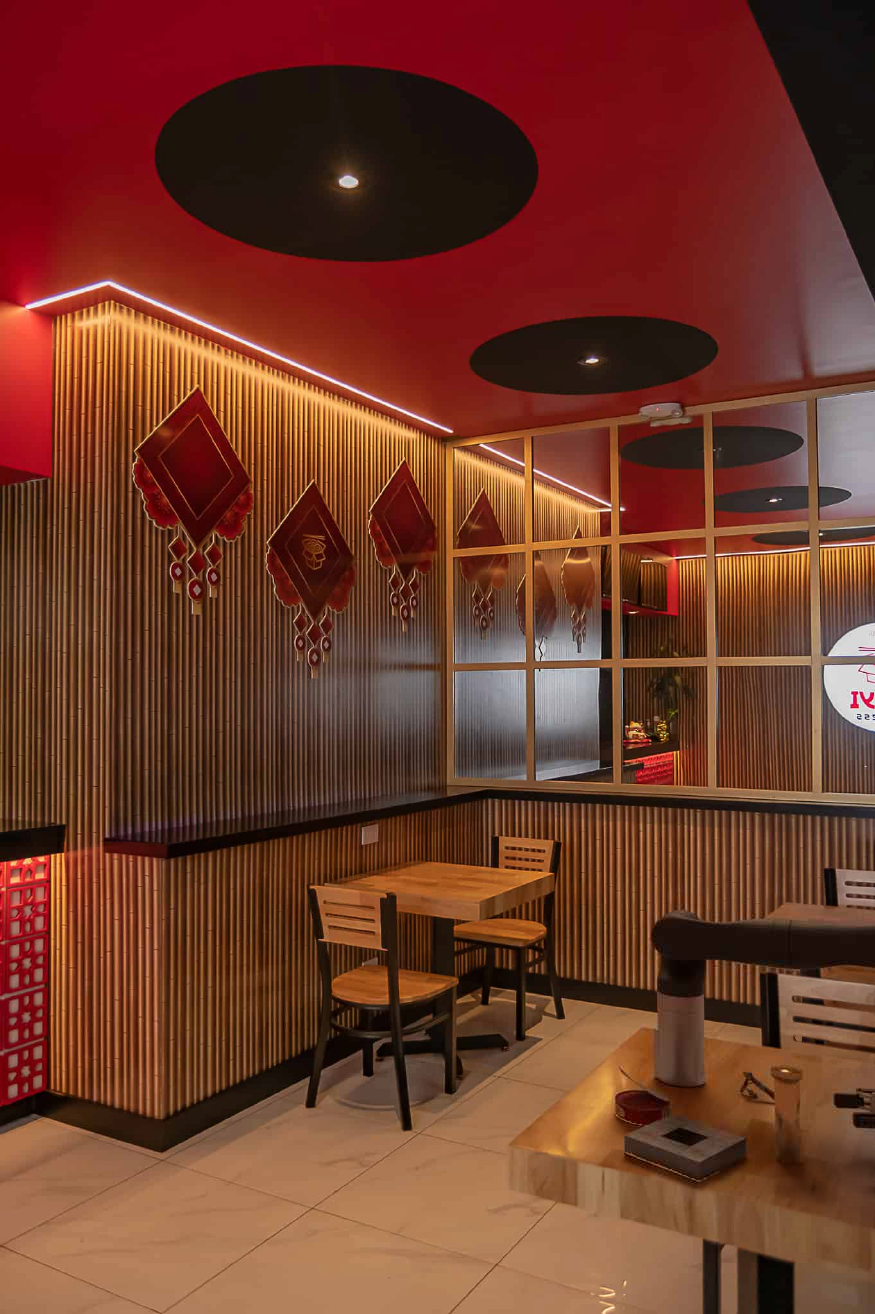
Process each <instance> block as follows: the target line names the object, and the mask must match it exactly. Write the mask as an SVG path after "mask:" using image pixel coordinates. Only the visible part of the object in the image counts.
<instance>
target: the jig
mask: <svg viewBox="0 0 875 1314" xmlns="http://www.w3.org/2000/svg"><path fill="white" fill-rule="evenodd" d="M623 1145H624V1153H625V1152H628V1153H632V1154H633V1155H636V1156H637V1157H640V1158H642V1159H645V1160H647V1161H650V1162H653V1163H655V1164H659V1165H661V1166H663V1167H666V1168H668V1169H672V1170H673V1171H676V1172H678V1173H681V1174H682V1175H686V1176H688V1177H690V1178H694V1179H696V1180H699V1181H700V1180H703V1179H704V1178H707V1177H709V1178H711V1177H712V1176H711V1175H713V1174H715V1173H716V1172H718V1171H720V1172H722V1171H723V1170H722V1169H724V1168H726V1169H728V1168H729V1167H731V1166H733V1165H735V1164H737V1163H738V1162H741V1161H742V1160H744V1159H746V1158H747V1138H746V1137H744V1136H741V1135H737V1134H736V1133H735V1134H734V1133H731V1132H730V1131H729V1132H728V1131H725V1130H722V1129H720V1128H717V1127H713V1126H710V1125H707V1124H704V1123H702V1122H697V1121H695V1120H692V1119H689V1118H686V1117H683V1116H680V1115H676V1114H673V1113H670V1115H669V1116H667V1117H665V1118H662V1119H660V1120H658V1121H656V1122H653V1123H651V1124H649V1125H647V1126H641V1127H639V1128H637V1129H636V1130H633V1131H631V1132H628V1133H626V1134H624V1144H623ZM736 1162H737V1163H736ZM732 1164H733V1165H732ZM728 1166H729V1167H728ZM727 1167H728V1168H727ZM721 1170H722V1171H721ZM724 1170H725V1169H724ZM718 1173H719V1172H718ZM715 1175H716V1174H715ZM710 1176H711V1177H710ZM713 1176H714V1175H713ZM707 1179H708V1178H707Z"/></svg>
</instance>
